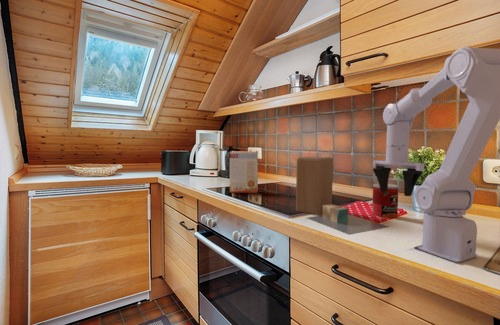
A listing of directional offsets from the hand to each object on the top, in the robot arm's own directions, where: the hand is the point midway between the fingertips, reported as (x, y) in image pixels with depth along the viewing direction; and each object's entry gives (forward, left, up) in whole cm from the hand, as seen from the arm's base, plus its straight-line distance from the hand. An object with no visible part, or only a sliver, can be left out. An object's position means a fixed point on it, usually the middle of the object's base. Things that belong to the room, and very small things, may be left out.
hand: (395, 193), depth 79 cm
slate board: (+9, +10, -10) cm, 17 cm away
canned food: (+10, -9, -11) cm, 17 cm away
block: (+25, +9, -11) cm, 29 cm away
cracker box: (+74, +14, -11) cm, 76 cm away
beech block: (+9, +11, -8) cm, 16 cm away
